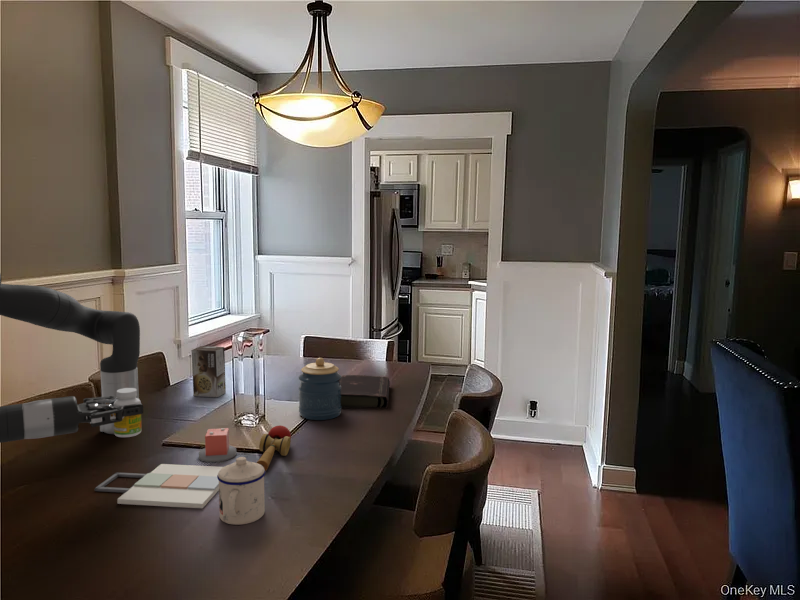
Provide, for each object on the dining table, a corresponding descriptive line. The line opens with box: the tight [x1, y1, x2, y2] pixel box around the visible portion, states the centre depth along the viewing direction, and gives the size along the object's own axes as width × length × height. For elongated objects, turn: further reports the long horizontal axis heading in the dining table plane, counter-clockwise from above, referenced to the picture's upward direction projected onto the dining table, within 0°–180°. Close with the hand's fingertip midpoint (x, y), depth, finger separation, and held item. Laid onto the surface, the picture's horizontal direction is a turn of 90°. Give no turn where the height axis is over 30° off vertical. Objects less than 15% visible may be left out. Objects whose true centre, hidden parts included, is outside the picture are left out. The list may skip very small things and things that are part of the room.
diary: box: [340, 374, 391, 409], centre depth 196 cm, size 19×25×5 cm
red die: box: [198, 427, 237, 463], centre depth 144 cm, size 9×9×6 cm
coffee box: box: [191, 345, 227, 398], centre depth 196 cm, size 9×6×16 cm
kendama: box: [256, 425, 292, 472], centre depth 143 cm, size 8×6×18 cm
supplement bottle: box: [113, 388, 143, 438], centre depth 125 cm, size 5×5×10 cm
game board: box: [94, 463, 224, 509], centre depth 127 cm, size 26×18×1 cm
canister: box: [298, 357, 342, 421], centre depth 176 cm, size 13×13×18 cm
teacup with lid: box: [217, 456, 266, 526], centre depth 112 cm, size 12×9×12 cm
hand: (139, 404), depth 126 cm, fingers closed on supplement bottle, 5 cm apart
